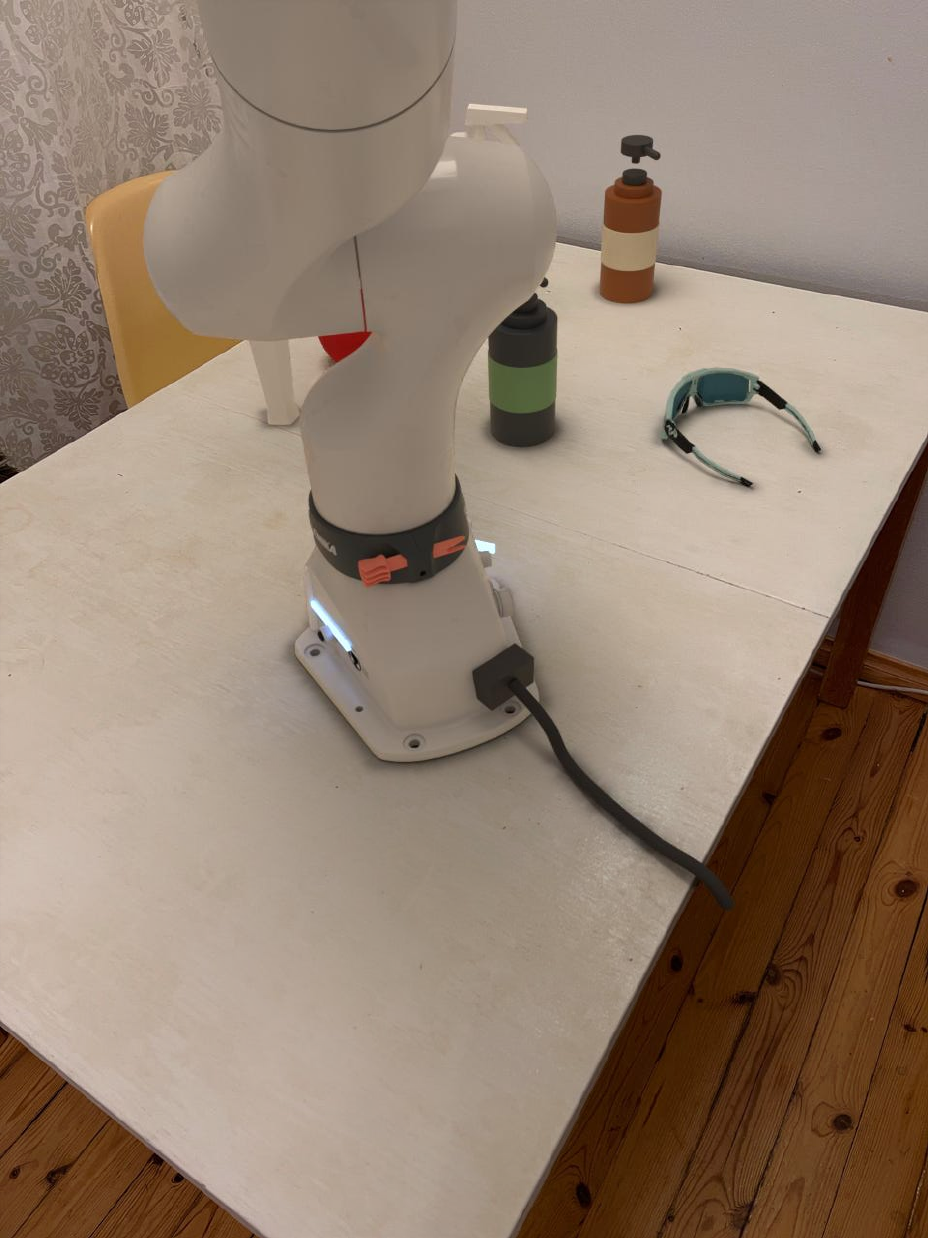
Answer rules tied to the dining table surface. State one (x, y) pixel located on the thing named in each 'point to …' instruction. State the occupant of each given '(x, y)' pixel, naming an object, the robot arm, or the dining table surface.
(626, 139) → the dark grey pump head
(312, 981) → the dining table surface
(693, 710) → the dining table surface
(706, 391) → the sunglasses
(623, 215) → the amber bottle
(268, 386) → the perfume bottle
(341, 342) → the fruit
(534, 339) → the dark grey pump bottle
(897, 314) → the dining table surface
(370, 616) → the robot arm
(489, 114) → the cream flat-topped arch
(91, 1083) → the dining table surface
